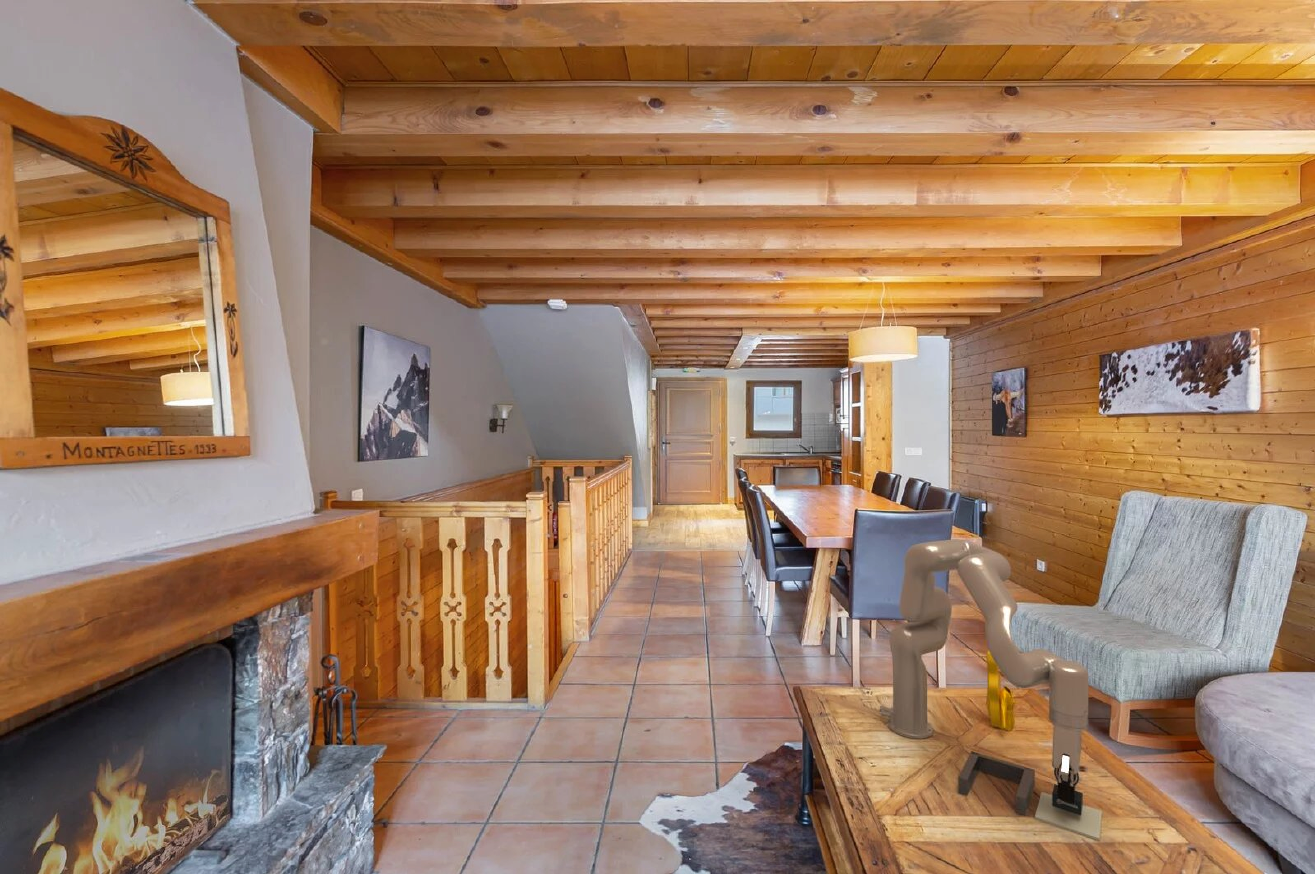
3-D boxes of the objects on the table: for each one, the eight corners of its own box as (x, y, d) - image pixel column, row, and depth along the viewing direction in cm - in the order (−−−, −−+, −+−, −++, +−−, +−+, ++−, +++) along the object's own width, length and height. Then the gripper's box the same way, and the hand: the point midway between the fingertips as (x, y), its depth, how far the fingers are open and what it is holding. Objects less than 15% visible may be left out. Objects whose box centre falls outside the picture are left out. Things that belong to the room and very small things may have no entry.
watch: (1051, 810, 138) (1051, 762, 138) (1055, 793, 144) (1055, 748, 144) (1080, 820, 135) (1081, 771, 134) (1083, 802, 141) (1084, 756, 141)
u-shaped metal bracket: (958, 792, 148) (958, 776, 148) (971, 765, 160) (971, 750, 160) (1025, 815, 139) (1025, 798, 139) (1034, 785, 151) (1034, 769, 151)
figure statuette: (1012, 741, 173) (1012, 665, 172) (981, 733, 177) (981, 659, 177) (1018, 717, 187) (1018, 646, 187) (990, 710, 192) (990, 641, 191)
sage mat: (1035, 818, 138) (1035, 816, 138) (1041, 794, 148) (1041, 791, 148) (1099, 840, 131) (1099, 838, 131) (1102, 813, 140) (1102, 810, 140)
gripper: (1053, 698, 148) (1052, 768, 148) (1044, 726, 135) (1044, 803, 135) (1090, 707, 144) (1090, 779, 144) (1085, 736, 130) (1085, 816, 130)
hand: (1067, 790), depth 139 cm, fingers closed on watch, 8 cm apart
